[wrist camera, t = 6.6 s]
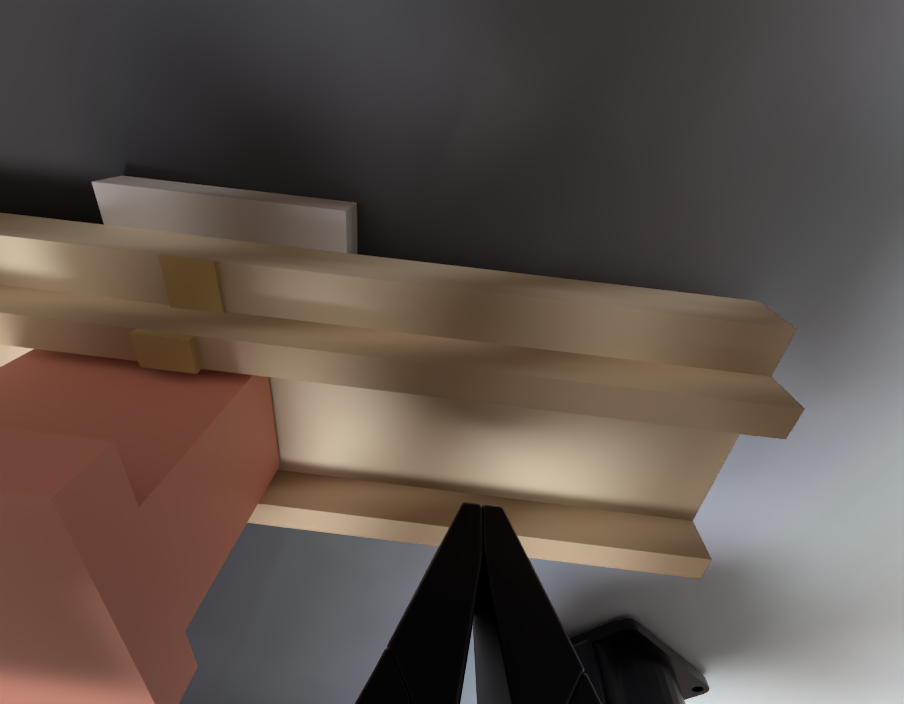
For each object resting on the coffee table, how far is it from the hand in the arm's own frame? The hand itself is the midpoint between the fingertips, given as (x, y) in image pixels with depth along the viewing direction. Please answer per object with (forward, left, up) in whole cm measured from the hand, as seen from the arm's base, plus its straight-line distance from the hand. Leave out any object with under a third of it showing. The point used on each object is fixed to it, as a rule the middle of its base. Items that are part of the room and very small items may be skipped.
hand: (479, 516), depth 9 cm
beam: (+5, +4, -5) cm, 8 cm away
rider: (+6, +5, -2) cm, 8 cm away
